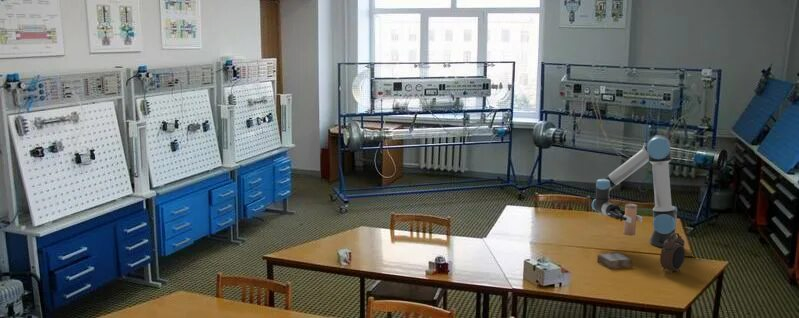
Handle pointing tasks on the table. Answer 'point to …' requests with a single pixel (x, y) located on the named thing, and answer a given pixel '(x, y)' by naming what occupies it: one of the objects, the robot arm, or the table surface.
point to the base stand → (614, 260)
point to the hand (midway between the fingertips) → (636, 220)
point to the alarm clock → (673, 253)
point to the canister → (631, 212)
